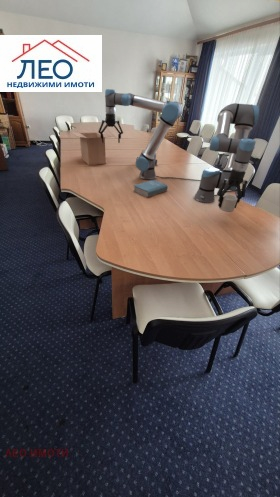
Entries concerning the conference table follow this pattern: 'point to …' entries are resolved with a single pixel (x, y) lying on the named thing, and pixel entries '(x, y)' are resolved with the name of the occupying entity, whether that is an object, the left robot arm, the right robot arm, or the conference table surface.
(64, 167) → the conference table surface
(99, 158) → the box
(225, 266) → the conference table surface
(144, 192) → the book
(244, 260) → the conference table surface
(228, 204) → the canister
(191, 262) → the conference table surface
